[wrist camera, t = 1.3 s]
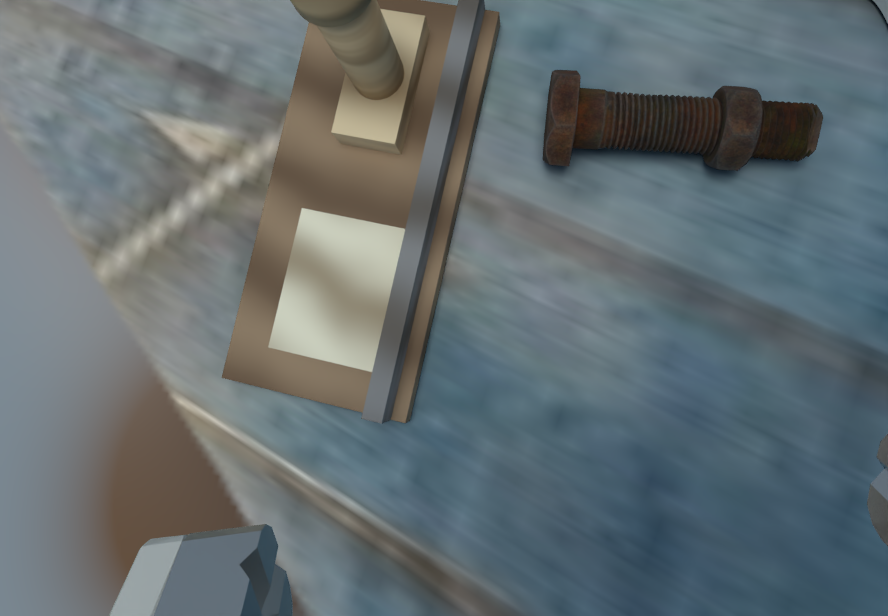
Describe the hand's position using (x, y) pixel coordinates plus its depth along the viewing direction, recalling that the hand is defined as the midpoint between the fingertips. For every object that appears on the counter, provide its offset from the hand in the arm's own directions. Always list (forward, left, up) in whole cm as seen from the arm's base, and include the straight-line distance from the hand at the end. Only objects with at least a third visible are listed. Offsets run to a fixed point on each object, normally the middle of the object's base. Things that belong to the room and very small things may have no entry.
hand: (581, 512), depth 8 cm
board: (-10, -13, -30) cm, 34 cm away
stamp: (-17, -13, -29) cm, 36 cm away
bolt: (-17, +4, -31) cm, 35 cm away
